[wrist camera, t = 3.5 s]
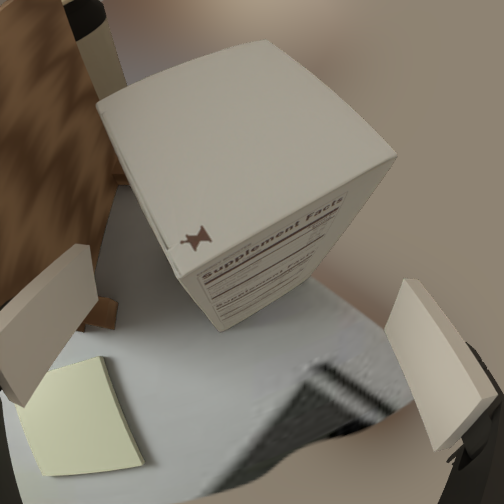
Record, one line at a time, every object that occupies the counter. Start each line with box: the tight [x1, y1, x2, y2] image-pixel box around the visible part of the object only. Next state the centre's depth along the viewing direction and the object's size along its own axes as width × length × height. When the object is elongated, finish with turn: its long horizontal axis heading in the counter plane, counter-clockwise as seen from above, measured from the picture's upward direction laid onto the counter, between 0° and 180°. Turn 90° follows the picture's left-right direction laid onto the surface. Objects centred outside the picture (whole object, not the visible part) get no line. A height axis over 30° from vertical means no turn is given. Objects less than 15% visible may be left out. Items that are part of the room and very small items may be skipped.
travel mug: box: [61, 0, 127, 100], centre depth 23 cm, size 8×8×18 cm
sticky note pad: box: [14, 356, 145, 476], centre depth 19 cm, size 10×12×1 cm
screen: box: [0, 0, 130, 332], centre depth 16 cm, size 18×8×22 cm, turn 175°
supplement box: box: [96, 39, 397, 332], centre depth 18 cm, size 10×9×17 cm
